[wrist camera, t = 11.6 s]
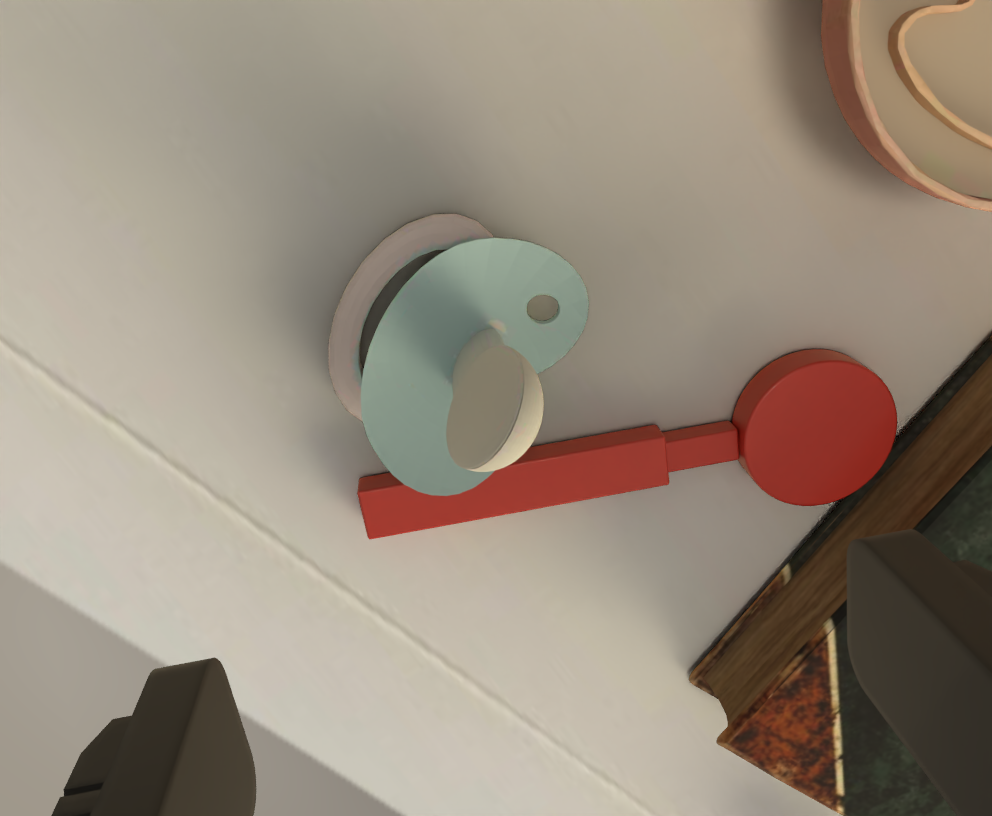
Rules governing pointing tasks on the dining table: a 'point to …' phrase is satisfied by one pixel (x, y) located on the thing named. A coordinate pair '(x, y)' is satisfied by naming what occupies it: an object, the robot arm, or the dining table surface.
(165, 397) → the dining table surface
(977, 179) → the mitochondrion model
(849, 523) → the book
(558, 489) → the spoon
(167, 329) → the dining table surface
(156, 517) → the dining table surface
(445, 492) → the pacifier
